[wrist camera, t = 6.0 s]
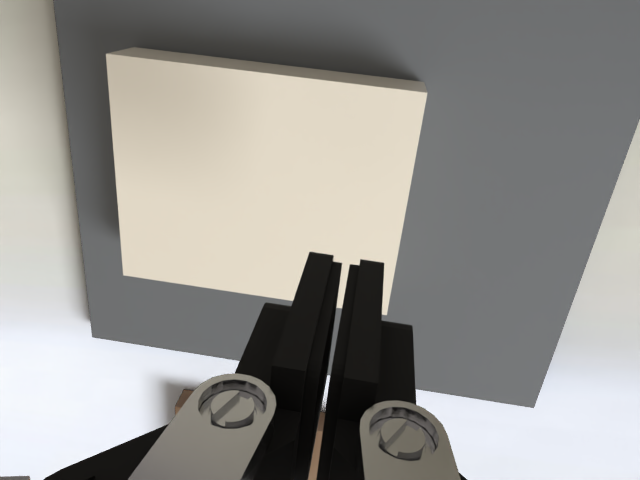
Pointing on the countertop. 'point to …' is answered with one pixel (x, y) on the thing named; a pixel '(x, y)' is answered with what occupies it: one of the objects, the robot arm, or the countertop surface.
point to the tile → (257, 169)
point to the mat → (428, 174)
